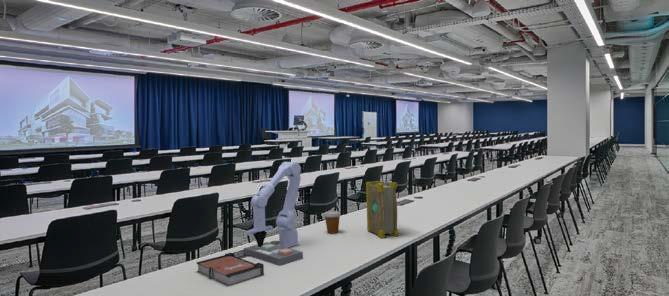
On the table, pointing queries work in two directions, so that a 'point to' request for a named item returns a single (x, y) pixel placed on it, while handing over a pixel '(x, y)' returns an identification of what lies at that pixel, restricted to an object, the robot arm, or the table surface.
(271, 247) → the sage key
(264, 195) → the robot arm
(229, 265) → the book
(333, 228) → the disposable coffee cup
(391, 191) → the decorative book
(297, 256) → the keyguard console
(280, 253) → the terracotta key
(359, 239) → the table surface
